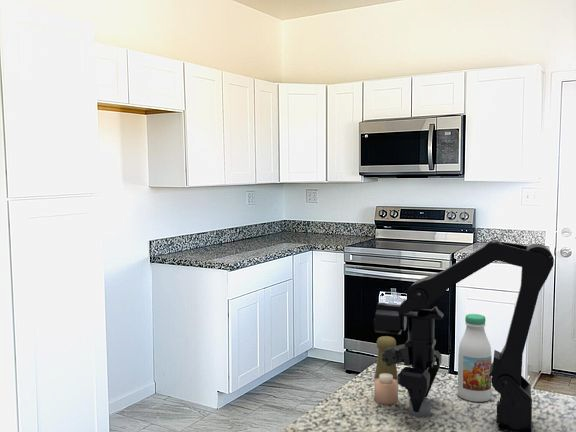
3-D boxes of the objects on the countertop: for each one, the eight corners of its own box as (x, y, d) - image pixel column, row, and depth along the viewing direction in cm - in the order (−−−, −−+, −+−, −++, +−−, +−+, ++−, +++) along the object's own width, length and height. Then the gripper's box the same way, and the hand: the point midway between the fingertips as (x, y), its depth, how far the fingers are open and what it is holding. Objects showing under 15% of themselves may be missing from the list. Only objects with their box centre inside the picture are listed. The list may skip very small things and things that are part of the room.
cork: (397, 382, 144) (397, 341, 143) (374, 380, 145) (374, 339, 145) (397, 374, 150) (398, 334, 149) (375, 372, 151) (375, 333, 150)
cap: (432, 411, 126) (432, 398, 126) (428, 419, 122) (428, 406, 122) (411, 407, 128) (412, 395, 128) (407, 415, 124) (407, 402, 124)
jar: (400, 397, 134) (400, 373, 133) (394, 406, 129) (394, 381, 128) (377, 394, 136) (378, 370, 136) (371, 402, 131) (371, 377, 131)
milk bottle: (451, 396, 134) (452, 315, 133) (468, 388, 140) (469, 310, 138) (480, 405, 129) (482, 321, 127) (497, 396, 134) (498, 315, 133)
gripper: (396, 322, 136) (395, 384, 137) (374, 343, 119) (374, 413, 120) (442, 327, 131) (441, 391, 132) (426, 349, 114) (426, 422, 115)
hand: (420, 404), depth 125 cm, fingers open, 9 cm apart
